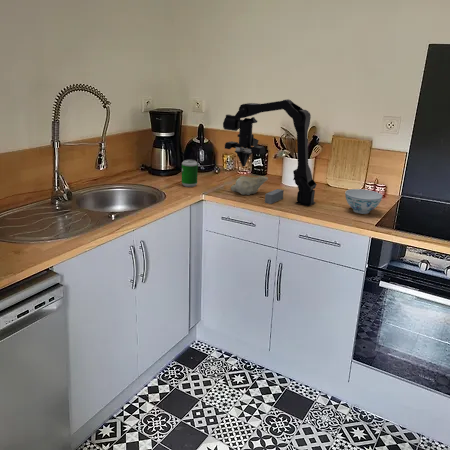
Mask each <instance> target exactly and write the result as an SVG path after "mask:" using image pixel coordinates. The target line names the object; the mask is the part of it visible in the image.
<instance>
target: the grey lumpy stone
mask: <svg viewBox="0 0 450 450" xmlns="http://www.w3.org/2000/svg"><path fill="white" fill-rule="evenodd" d="M268 180H269V178H268V176H265V175H263V176H261V175H257V176H256V177H249V176H246V175H245V176H244V175H243V176H242V175H241V176H240V177H238V179H236V181H235V183H234V184H232V185H231V187H230V190H231V191H232V192H233V193H234V192H235V193H239V194H241V195H247V196H250V195H253V194H257V192H258V190H259V189H260V187H261V186H262V185H263V184H264V183H265V182H267V181H268Z"/></svg>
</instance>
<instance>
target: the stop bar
mask: <svg viewBox="0 0 450 450" xmlns="http://www.w3.org/2000/svg"><path fill="white" fill-rule="evenodd" d="M283 199H284V189H280V188H277V189H274V190H271V191H269V192H267V193H265V195H264V203H265V204H269V205H272V204H275V203H276V202H278V201H281V200H283Z"/></svg>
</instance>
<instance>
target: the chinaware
mask: <svg viewBox="0 0 450 450" xmlns="http://www.w3.org/2000/svg"><path fill="white" fill-rule="evenodd" d="M344 194H345V201H346V202H347V205H349V207H351V208H352V212H354V213H356V214H363V215H367V214H369V213H370V212H371V211H372V210H375V208H377V207H378V206H379V204H380V203H381V201H382V199H383V194H382V193H380V192H377V191H373V190H370V189H362V188H350V189H347V190H346V191H344Z"/></svg>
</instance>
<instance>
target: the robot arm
mask: <svg viewBox="0 0 450 450" xmlns="http://www.w3.org/2000/svg"><path fill="white" fill-rule="evenodd" d="M281 110H284V111H285V113H286V114H287V115H288V116H289V117H290V118H291V119H292V123H293V127H294V130H295V132H296V141H297V142H296V147H297V149H296V151H297V167H296V169H294V170H293V172H292V174H293V181H294V183H295V185H296V186H297V189H298V192H297V196H296V201H295V204H299V205H303V206H307V207H310V206H312V205H314V204H316V202H315V193H316V190H315V189H316V187H317V184H318V183H316V182H315V180H314V179H313V176H312V170H311V168H310V166H309V146H308V144H309V138H308V136H309V135H308V131H309V127H310V125H311V118H312V117H311V116H312V115H311V113H310V112H309V110H307V109H303V108H302V107H301V106H299V105H298V104H296V103H294V102H293V101H292V99H289V98H288V99H283V100H279V101H277V100H276V101H271V102H264V103H255V102H254V103H253V102H247V103H243V104H240V105H239V107H238V111H237V112H236V114H235V115H233V114H225V117H224V119H223V122H222V126H223V128H222V129H224V131H225V130H226V131H234V132H237V131H238V130H239V132H238V134H237V138H238V142H237V141H226V142H225V143H224V149H225V150H231V149H232V148H233V149H235V150H234V153H236V155H237V157H238V159H239V162H240V165H241V167H243V168H245V166H246V165H247V162H248V159H249V158H250V156H251V155H253V154H254V155H262V154H265V153H266V148H265V146H261V145H258V144H259V141H260V140H259V139H257V138H255V137H254V134H253V126H254V125H253V124H257V123H258V120H257V119H256V118H255V115H258V114H261V113H265V112H274V111H281ZM249 117H250V118H249Z"/></svg>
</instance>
